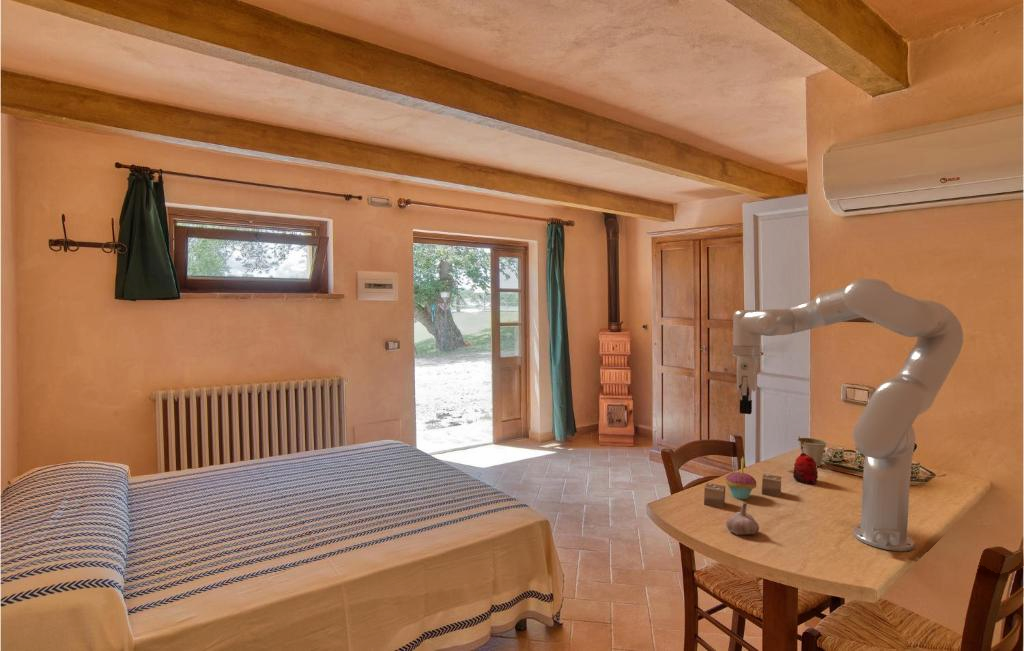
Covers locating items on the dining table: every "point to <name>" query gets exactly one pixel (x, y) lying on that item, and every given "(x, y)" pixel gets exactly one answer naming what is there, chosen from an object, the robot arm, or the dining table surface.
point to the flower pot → (813, 448)
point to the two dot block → (771, 485)
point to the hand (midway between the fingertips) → (745, 413)
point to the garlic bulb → (742, 523)
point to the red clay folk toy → (805, 468)
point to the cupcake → (740, 483)
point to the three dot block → (714, 495)
